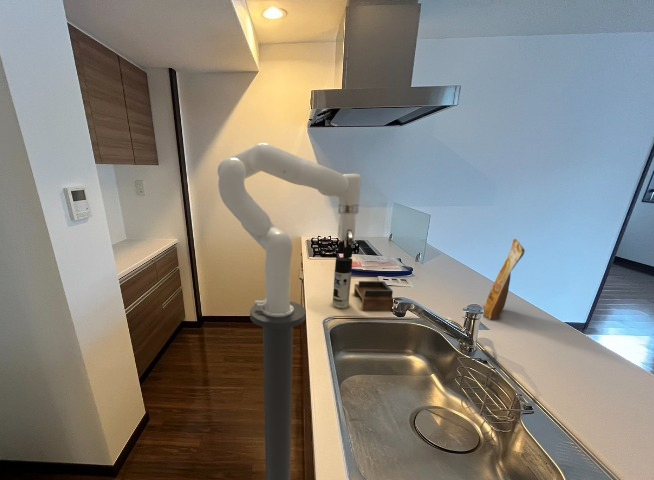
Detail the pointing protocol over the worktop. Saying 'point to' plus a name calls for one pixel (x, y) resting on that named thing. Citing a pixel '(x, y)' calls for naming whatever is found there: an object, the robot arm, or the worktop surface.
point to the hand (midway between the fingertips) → (345, 254)
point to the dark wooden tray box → (374, 295)
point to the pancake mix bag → (503, 283)
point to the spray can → (342, 282)
